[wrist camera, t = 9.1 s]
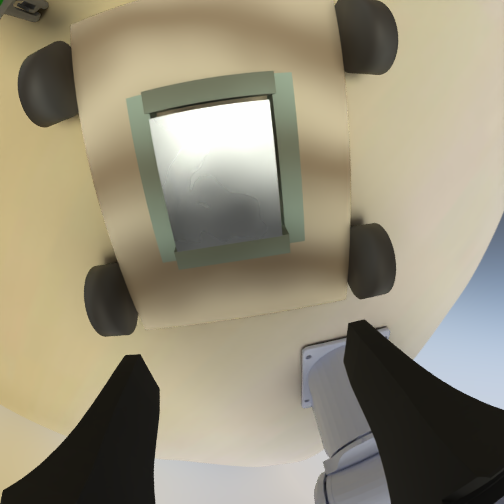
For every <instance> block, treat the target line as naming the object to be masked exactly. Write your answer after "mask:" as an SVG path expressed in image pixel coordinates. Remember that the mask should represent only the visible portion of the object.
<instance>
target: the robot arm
mask: <svg viewBox="0 0 504 504" xmlns="http://www.w3.org/2000/svg"><path fill="white" fill-rule="evenodd" d="M389 335H390V330H389V329H388V328H382V329H378V330H376V329H375V328H374V327H373V326H372V325H371V324H369V323H368V322H367V321H366V320H360V321H356V322H352V323H348V331H347V338H343V339H339V340H335V341H330V342H326V343H321V344H316V345H312V346H307V347H305V348H304V349H303V350H302V399H301V405H302V407H303V408H309V407H312V408H313V411H314V415H315V418H316V422H317V425H318V429H319V432H320V436H321V439H322V443H323V446H324V449H325V452H326V454H327V455H328V456H329V457H330V459H328V460H326V461H324V462H323V464H324V467H325V472H323V473H321V475H320V476H319V477H318V480H317V483H316V486H315V490H314V499H315V504H504V410H502V409H499V408H497V407H494V406H491V405H488V404H486V403H484V402H481V401H479V400H477V399H475V398H473V397H471V396H469V395H466V394H464V393H462V392H461V391H459V390H457V389H455V388H453V387H451V386H450V385H448V384H447V383H445V382H443V381H442V380H440V379H438V378H437V377H436V376H434V375H432V374H431V373H430V372H428V371H427V370H426V369H424V368H423V367H421V366H420V365H419V364H417V363H416V362H415V361H413V360H412V359H411V358H410V357H408V356H407V355H406V354H405V353H403V352H402V351H401V350H400V349H399V348H397V347H396V346H395V345H394V344H393V343H391V342H390V341H389V340H388V339H389ZM308 355H309V356H308ZM159 414H160V389H159V387H158V385H157V383H156V382H155V380H154V378H153V376H152V375H151V373H150V371H149V369H148V367H147V366H146V364H145V362H144V360H143V358H142V356H141V354H137V355H125V356H124V358H123V359H122V361H121V362H120V363H119V365H118V366H117V368H116V369H115V371H114V372H113V374H112V376H111V377H110V379H109V380H108V382H107V383H106V385H105V386H104V388H103V389H102V391H101V392H100V394H99V395H98V397H97V398H96V400H95V401H94V403H93V404H92V405H91V407H90V408H89V410H88V411H87V412H86V414H85V415H84V416H83V418H82V419H81V421H80V422H79V423H78V425H77V426H76V427H75V428H74V430H73V431H72V432H71V433H70V434H69V435H68V437H67V438H66V439H65V440H64V441H63V442H62V443H61V445H60V446H59V447H58V448H57V449H56V450H55V451H53V452H52V453H51V454H50V455H49V457H47V459H45V460H44V461H43V462H42V463H41V464H40V465H39V466H37V467H36V468H35V469H34V470H33V471H31V472H30V473H29V474H27V475H26V476H25V477H24V478H22V479H21V480H19V481H18V482H16V483H14V484H13V485H11V486H10V487H8V488H6V489H5V490H3V492H2V497H1V503H0V504H155V494H154V459H155V449H156V440H157V432H158V423H159Z"/></svg>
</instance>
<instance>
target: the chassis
mask: <svg viewBox="0 0 504 504" xmlns="http://www.w3.org/2000/svg"><path fill="white" fill-rule="evenodd" d="M70 32H71V47H70V46H69V45H68V44H67V43H65V42H63V41H56V42H54V43H52V44H50V45H48V46H46V47H44V48H42V49H40V50H38V51H37V52H35V53H33V54H31V55H30V56H28V57H27V58H26V59H25V60H24V62H23V63H22V65H21V68H20V71H19V75H18V93H19V98H20V102H21V105H22V107H23V109H24V111H25V113H26V115H27V116H28V118H29V119H30V120H31V121H32V122H33V123H34V124H36V125H38V126H40V127H49V126H51V125H54V124H56V123H58V122H61V121H63V120H66V119H68V118H71V117H74V116H75V115H76V114H78V112H79V117H80V122H81V128H82V133H83V138H84V143H85V148H86V153H87V157H88V162H89V166H90V170H91V174H92V179H93V182H94V186H95V190H96V194H97V198H98V201H99V205H100V208H101V212H102V215H103V218H104V222H105V225H106V228H107V231H108V234H109V238H110V241H111V244H112V247H113V250H114V252H115V255H116V258H117V261H118V263H112V264H106V265H100V266H94V267H92V268H91V269H90V271H89V272H88V274H87V277H86V280H85V286H84V301H85V307H86V312H87V315H88V318H89V320H90V322H91V325H92V326H93V328H94V329H95V331H96V332H97V333H98V334H100V335H101V336H104V337H106V336H120V335H130V334H132V333H133V331H134V330H135V328H136V324H137V318H138V315H139V317H140V319H141V322H142V324H143V326H144V328H145V330H152V329H161V328H171V327H180V326H188V325H196V324H204V323H212V322H219V321H226V320H233V319H240V318H246V317H253V316H259V315H265V314H271V313H277V312H283V311H289V310H294V309H300V308H305V307H310V306H316V305H321V304H326V303H331V302H336V301H340V300H345V299H346V294H347V281H348V284H349V286H350V288H351V290H352V292H353V293H354V295H355V296H356V297H357V298H359V299H365V298H369V297H374V296H378V295H382V294H386V293H388V292H389V291H390V290H391V289H392V287H393V284H394V281H395V275H396V261H395V254H394V249H393V246H392V243H391V240H390V238H389V236H388V234H387V232H386V231H385V230H384V228H383V227H382V226H380V225H379V224H377V223H372V224H365V225H358V226H351V227H350V217H351V169H350V139H349V121H348V106H347V94H346V84H345V74H344V70H345V71H346V72H348V73H360V74H373V75H381V74H384V73H386V72H387V71H388V70H389V69H390V68H391V66H392V64H393V62H394V60H395V57H396V54H397V49H398V31H397V26H396V22H395V19H394V17H393V15H392V13H391V11H390V10H389V8H388V7H387V6H386V5H385V4H384V3H382V2H380V1H377V0H338V1H337V3H336V5H335V6H334V1H333V0H138V1H134V2H131V3H127V4H124V5H121V6H118V7H115V8H112V9H109V10H107V11H104V12H101V13H98V14H96V15H93V16H91V17H88V18H86V19H83V20H81V21H79V22H76V23H74V24H72V25H70ZM261 100H269V102H270V110H271V119H272V128H273V138H274V147H275V157H276V167H277V178H278V189H279V200H280V212H281V224H282V236H279V237H272V238H266V239H259V240H252V241H246V242H239V243H233V244H226V245H220V246H213V247H207V248H201V249H194V250H188V251H182V252H177V249H176V245H175V241H174V237H173V233H172V229H171V225H170V221H169V217H168V212H167V208H166V204H165V199H164V195H163V190H162V186H161V181H160V176H159V171H158V166H157V161H156V156H155V151H154V146H153V140H152V135H151V129H150V123H149V119H152V118H156V117H161V116H165V115H170V114H174V113H179V112H184V111H190V110H195V109H201V108H207V107H213V106H220V105H227V104H234V103H242V102H251V101H261Z"/></svg>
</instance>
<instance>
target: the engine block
mask: <svg viewBox="0 0 504 504" xmlns="http://www.w3.org/2000/svg"><path fill="white" fill-rule="evenodd" d="M149 123H150V129H151V135H152V140H153V146H154V151H155V156H156V161H157V166H158V171H159V176H160V181H161V186H162V190H163V195H164V199H165V204H166V208H167V212H168V217H169V221H170V225H171V229H172V233H173V237H174V241H175V245H176V249H177V252H182V251H188V250H194V249H201V248H207V247H213V246H220V245H226V244H233V243H239V242H246V241H252V240H259V239H266V238H272V237H279V236H282V224H281V212H280V200H279V189H278V178H277V167H276V157H275V147H274V138H273V128H272V119H271V110H270V102H269V100H261V101H251V102H242V103H234V104H227V105H220V106H213V107H207V108H201V109H195V110H190V111H184V112H179V113H174V114H170V115H165V116H161V117H156V118H152V119H149Z"/></svg>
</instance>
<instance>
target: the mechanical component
mask: <svg viewBox="0 0 504 504" xmlns="http://www.w3.org/2000/svg"><path fill="white" fill-rule="evenodd" d="M15 1H23V3H22V4H20V3H18V4H17V6H18V7H20V8H22V9H24V10H22V9H19V8H16V7H13V4H14V2H15ZM47 7H48V3H47V2H46V1H44V0H0V19H1V17H2V16H3V14H7V15H11V16H14V17H18V18H21V19H25V20H28V21H31V22H37V21H38V20H39V18H40V15H41V14H40V13H38V12H36V11H38V10H39V9H40V8H43V9H46V8H47Z"/></svg>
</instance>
